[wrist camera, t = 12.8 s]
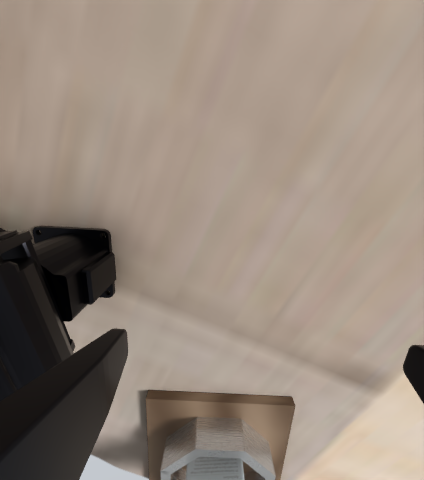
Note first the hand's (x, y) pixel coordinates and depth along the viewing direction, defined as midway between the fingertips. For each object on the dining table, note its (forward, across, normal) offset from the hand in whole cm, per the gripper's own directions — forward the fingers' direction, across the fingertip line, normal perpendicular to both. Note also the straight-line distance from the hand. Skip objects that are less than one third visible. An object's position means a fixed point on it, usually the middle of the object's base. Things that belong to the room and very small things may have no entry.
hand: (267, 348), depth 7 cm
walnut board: (+13, 0, +26) cm, 29 cm away
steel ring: (+13, 0, +26) cm, 29 cm away
